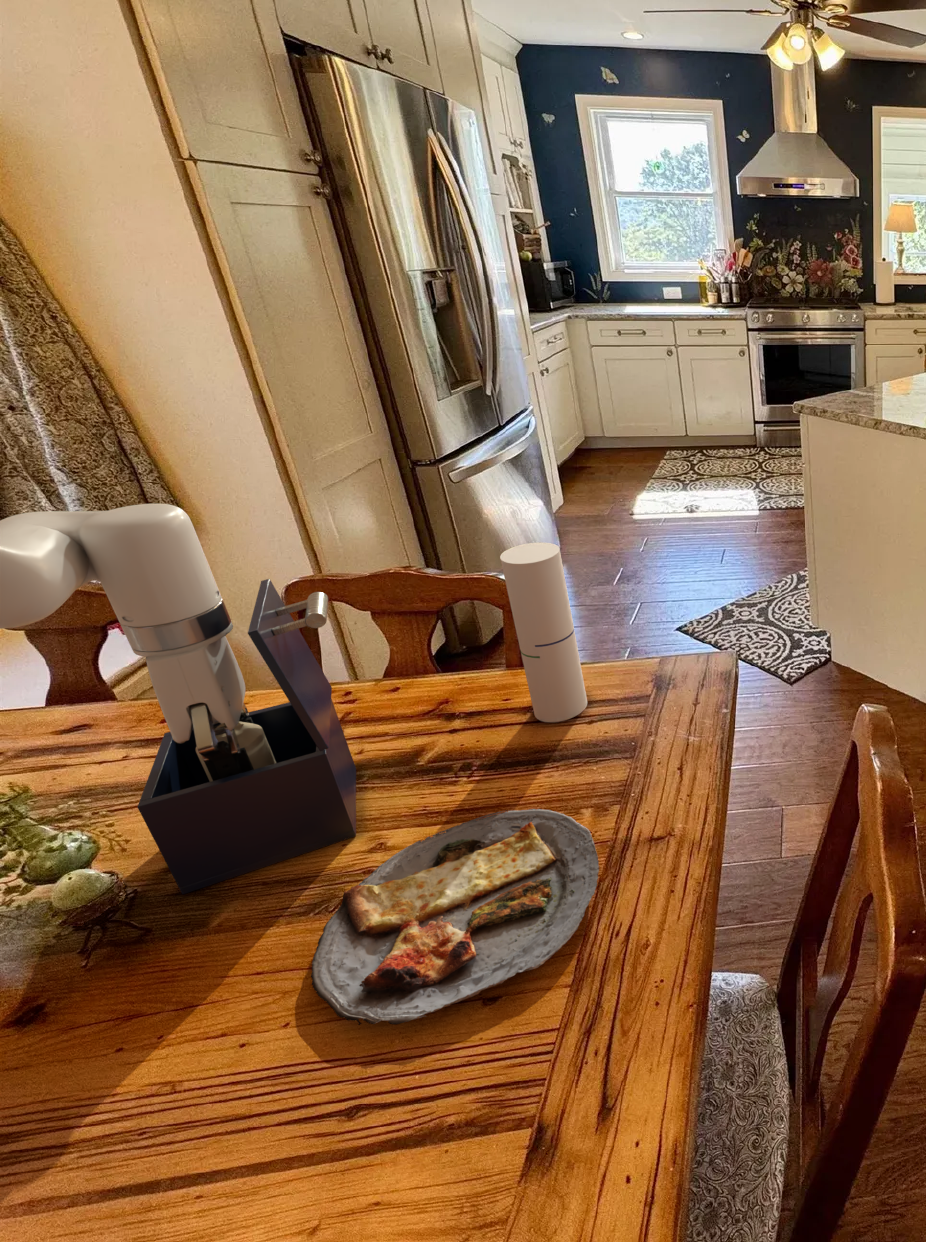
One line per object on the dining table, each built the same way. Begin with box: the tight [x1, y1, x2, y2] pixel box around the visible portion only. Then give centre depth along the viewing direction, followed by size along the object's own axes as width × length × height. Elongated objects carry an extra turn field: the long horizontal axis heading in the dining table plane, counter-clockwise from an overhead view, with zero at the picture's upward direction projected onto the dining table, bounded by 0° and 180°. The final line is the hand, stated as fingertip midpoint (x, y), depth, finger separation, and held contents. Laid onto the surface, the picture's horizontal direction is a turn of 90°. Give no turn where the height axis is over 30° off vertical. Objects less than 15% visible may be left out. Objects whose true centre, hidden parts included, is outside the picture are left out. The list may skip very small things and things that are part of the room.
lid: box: [247, 578, 333, 751], centre depth 82 cm, size 16×14×5 cm
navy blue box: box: [137, 698, 357, 895], centre depth 83 cm, size 15×14×12 cm
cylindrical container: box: [499, 541, 588, 723], centre depth 103 cm, size 7×7×25 cm
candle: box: [196, 722, 276, 782], centre depth 81 cm, size 6×6×10 cm
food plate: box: [310, 808, 601, 1026], centre depth 75 cm, size 25×23×4 cm
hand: (240, 765), depth 81 cm, fingers closed on candle, 5 cm apart
